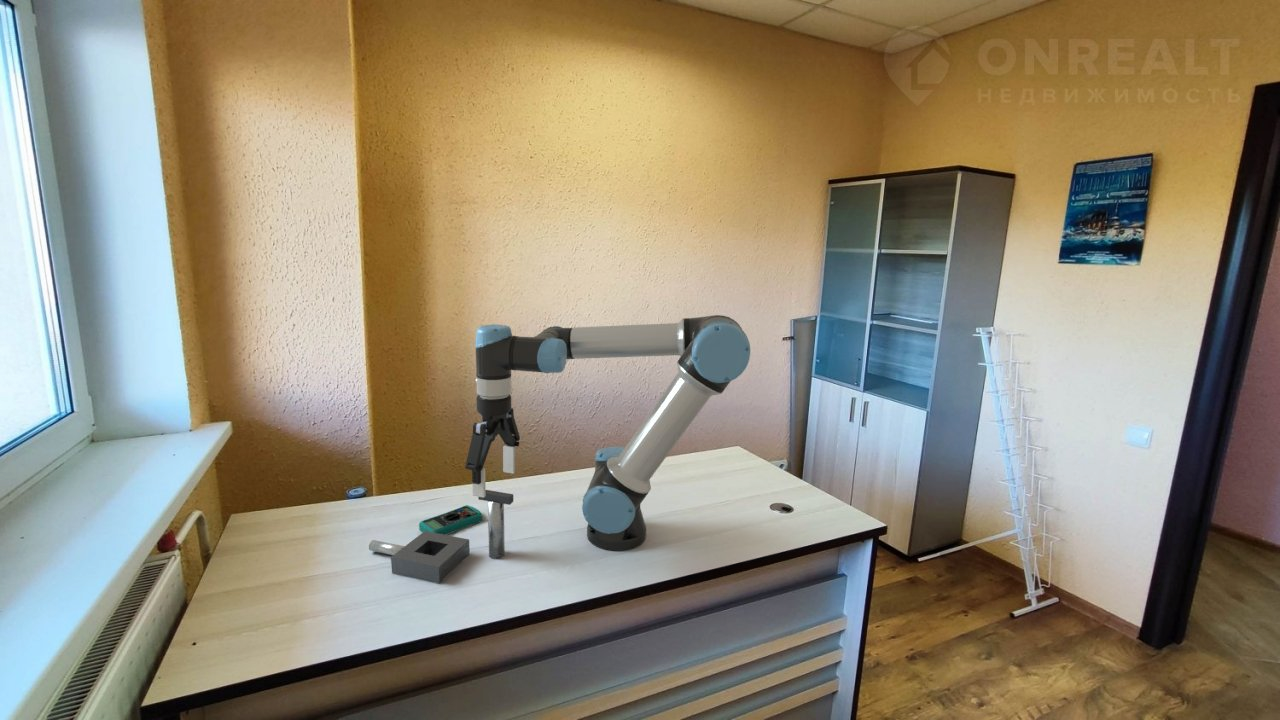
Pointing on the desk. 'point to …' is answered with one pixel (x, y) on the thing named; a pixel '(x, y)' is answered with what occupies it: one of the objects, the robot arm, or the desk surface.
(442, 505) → the desk surface
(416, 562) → the block
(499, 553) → the t key
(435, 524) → the digital multimeter
